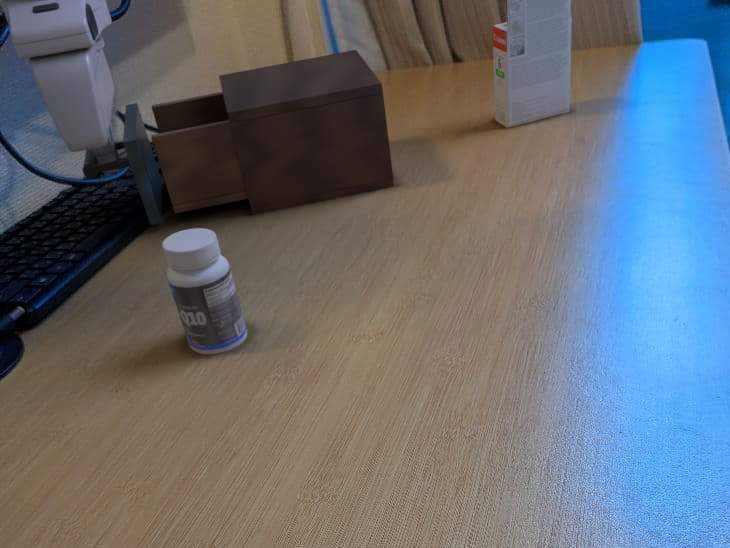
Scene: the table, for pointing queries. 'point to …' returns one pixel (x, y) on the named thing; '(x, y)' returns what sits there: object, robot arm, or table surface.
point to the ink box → (532, 61)
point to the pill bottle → (204, 291)
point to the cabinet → (308, 130)
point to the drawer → (180, 155)
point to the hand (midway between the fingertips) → (111, 168)
